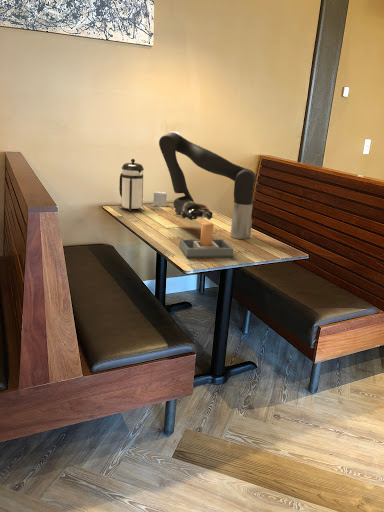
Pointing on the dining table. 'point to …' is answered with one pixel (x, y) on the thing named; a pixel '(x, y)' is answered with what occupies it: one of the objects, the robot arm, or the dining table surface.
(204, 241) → the rounded orange object
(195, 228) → the dining table surface
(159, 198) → the medicine box
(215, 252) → the walled box
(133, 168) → the coffee press
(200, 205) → the dish
